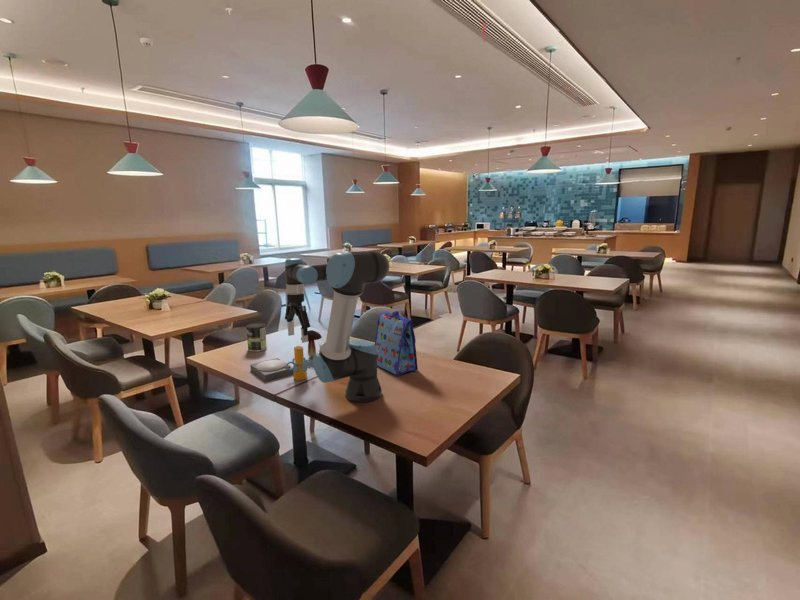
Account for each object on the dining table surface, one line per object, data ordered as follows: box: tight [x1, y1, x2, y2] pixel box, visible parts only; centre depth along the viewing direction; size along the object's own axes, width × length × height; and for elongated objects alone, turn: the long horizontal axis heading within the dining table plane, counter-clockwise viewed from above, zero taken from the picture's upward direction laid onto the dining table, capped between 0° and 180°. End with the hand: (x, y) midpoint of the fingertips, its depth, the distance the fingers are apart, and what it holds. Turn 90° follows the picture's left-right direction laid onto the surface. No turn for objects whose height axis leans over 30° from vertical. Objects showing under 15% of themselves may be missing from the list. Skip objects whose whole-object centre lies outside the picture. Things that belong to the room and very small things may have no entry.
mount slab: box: [249, 357, 293, 382], centre depth 193 cm, size 18×14×4 cm
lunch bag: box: [374, 310, 419, 377], centre depth 196 cm, size 22×14×29 cm, turn 37°
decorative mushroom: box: [300, 329, 323, 358], centre depth 212 cm, size 11×11×15 cm
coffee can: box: [245, 322, 268, 353], centre depth 226 cm, size 10×10×14 cm
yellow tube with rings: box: [286, 345, 313, 381], centre depth 185 cm, size 12×10×15 cm
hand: (297, 338), depth 182 cm, fingers open, 13 cm apart
